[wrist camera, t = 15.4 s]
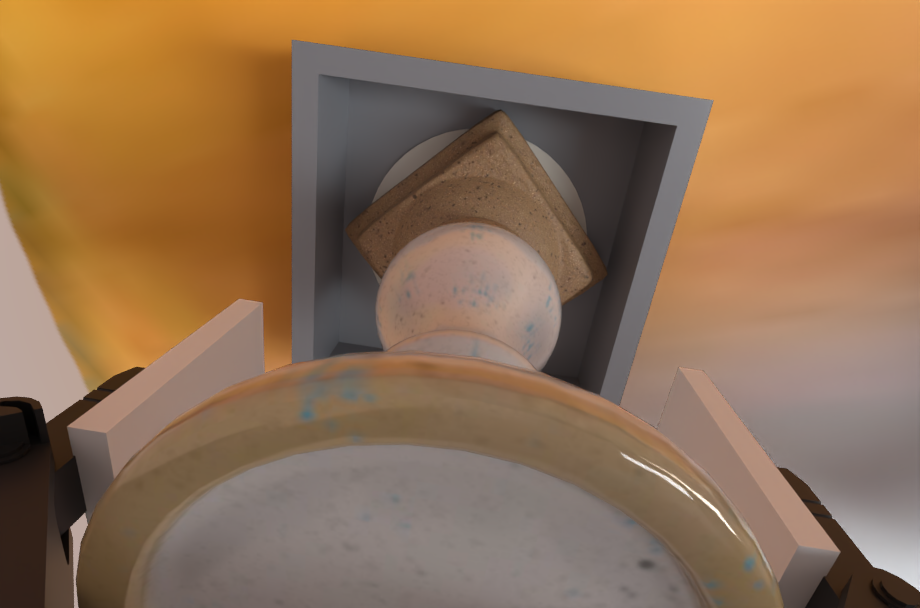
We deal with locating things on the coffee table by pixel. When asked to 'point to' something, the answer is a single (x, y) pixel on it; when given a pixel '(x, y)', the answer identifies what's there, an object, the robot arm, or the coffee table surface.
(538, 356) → the candle holder
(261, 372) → the robot arm
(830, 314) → the coffee table surface
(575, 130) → the walled bin
